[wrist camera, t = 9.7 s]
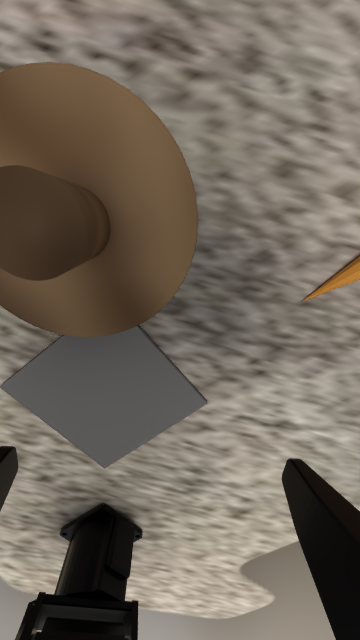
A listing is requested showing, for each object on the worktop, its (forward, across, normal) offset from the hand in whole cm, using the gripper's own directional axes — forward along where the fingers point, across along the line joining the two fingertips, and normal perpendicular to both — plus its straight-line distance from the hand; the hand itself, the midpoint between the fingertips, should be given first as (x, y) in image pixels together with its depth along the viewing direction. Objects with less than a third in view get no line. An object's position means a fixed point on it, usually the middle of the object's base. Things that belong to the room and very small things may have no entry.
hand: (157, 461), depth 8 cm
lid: (+7, +4, -7) cm, 11 cm away
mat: (+12, +4, +6) cm, 14 cm away
